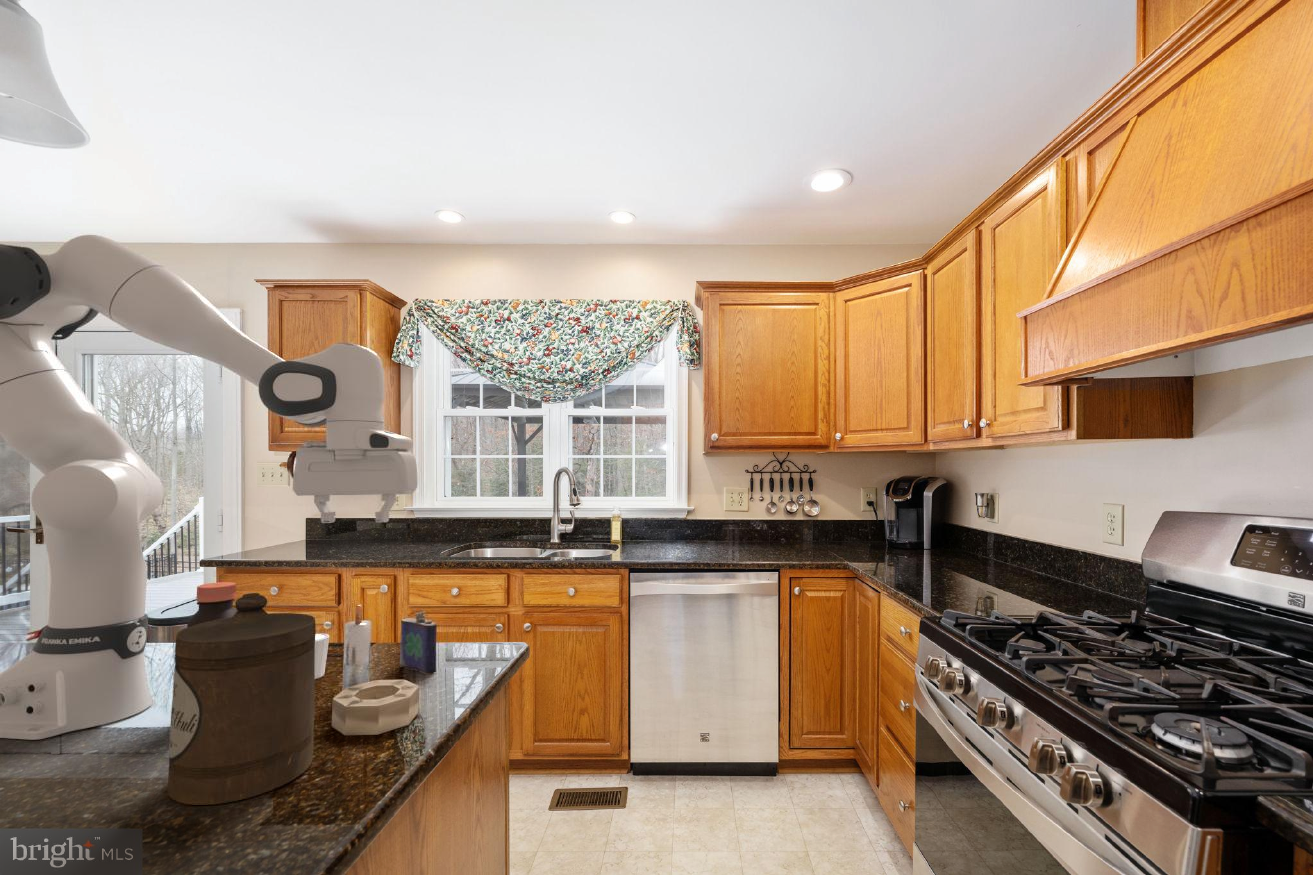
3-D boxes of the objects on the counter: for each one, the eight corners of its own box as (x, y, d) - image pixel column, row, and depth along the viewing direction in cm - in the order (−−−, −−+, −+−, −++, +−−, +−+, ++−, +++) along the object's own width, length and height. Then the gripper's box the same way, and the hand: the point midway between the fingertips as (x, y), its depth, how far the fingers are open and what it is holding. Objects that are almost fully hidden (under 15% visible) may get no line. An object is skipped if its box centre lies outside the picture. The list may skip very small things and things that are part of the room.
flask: (396, 666, 116) (398, 610, 117) (410, 662, 119) (411, 607, 120) (428, 675, 112) (429, 616, 112) (441, 671, 114) (442, 613, 115)
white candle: (337, 701, 99) (341, 607, 100) (348, 692, 103) (351, 602, 104) (363, 700, 99) (366, 607, 100) (372, 691, 103) (375, 602, 104)
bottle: (219, 727, 88) (225, 588, 89) (170, 728, 88) (177, 589, 89) (247, 709, 95) (253, 580, 96) (202, 710, 95) (208, 581, 96)
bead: (321, 736, 86) (322, 707, 86) (353, 706, 96) (354, 680, 97) (401, 733, 86) (402, 705, 87) (424, 704, 97) (425, 679, 98)
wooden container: (188, 759, 78) (197, 588, 80) (318, 739, 84) (324, 580, 86) (146, 819, 65) (158, 611, 66) (304, 790, 71) (312, 600, 72)
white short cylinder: (308, 683, 107) (310, 643, 107) (275, 681, 108) (277, 641, 108) (336, 671, 113) (338, 633, 114) (305, 668, 115) (306, 631, 115)
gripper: (284, 440, 100) (283, 524, 99) (404, 438, 98) (403, 523, 97) (309, 442, 106) (307, 521, 105) (422, 439, 104) (421, 520, 104)
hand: (355, 522), depth 101 cm, fingers open, 8 cm apart
